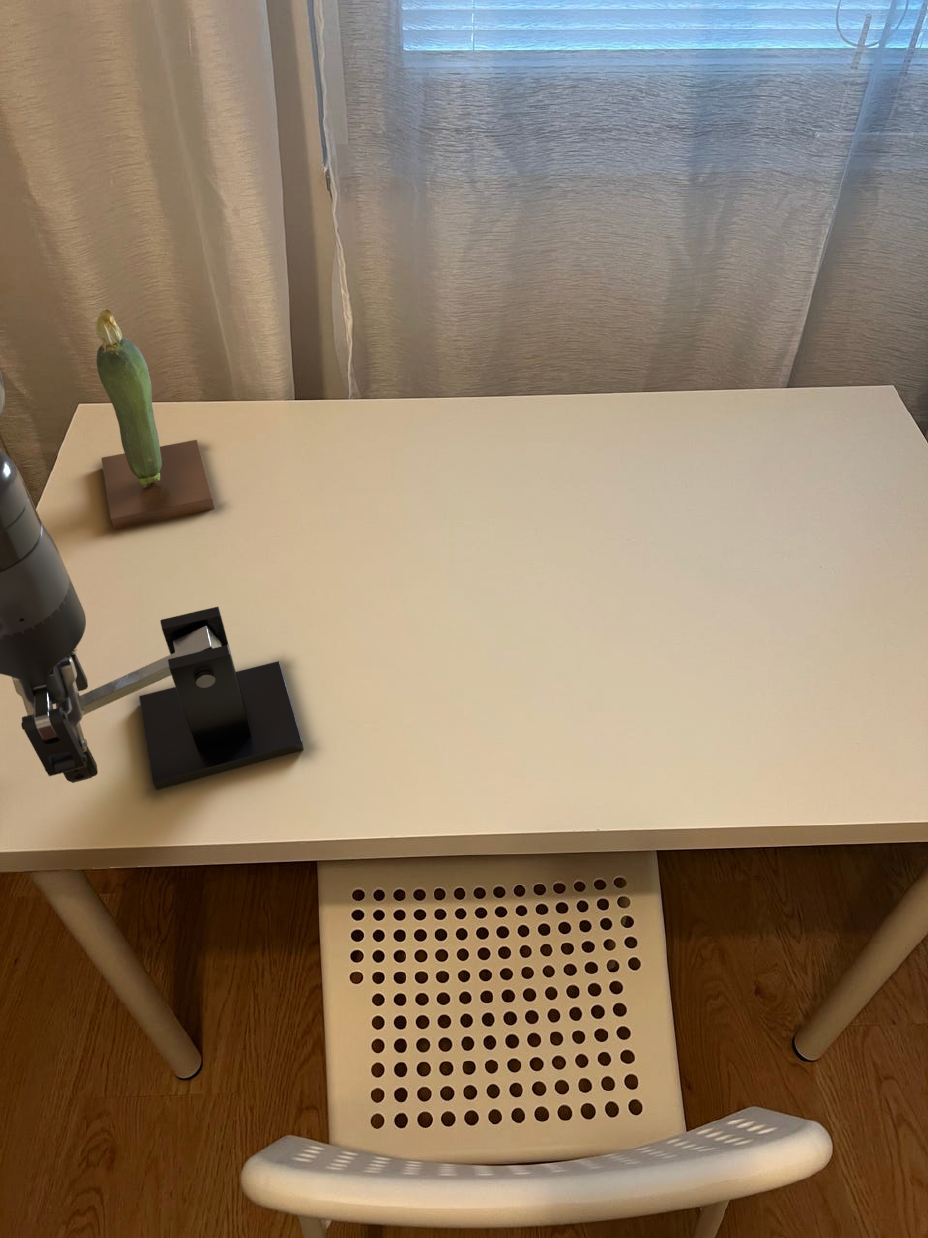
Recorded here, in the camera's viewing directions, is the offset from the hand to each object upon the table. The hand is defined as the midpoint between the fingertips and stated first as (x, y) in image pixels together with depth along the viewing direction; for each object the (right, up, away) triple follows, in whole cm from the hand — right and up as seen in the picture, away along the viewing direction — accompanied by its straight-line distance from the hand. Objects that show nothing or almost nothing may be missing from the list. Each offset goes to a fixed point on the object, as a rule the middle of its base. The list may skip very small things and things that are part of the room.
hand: (79, 730), depth 73 cm
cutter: (+10, 0, +6) cm, 11 cm away
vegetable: (-2, +23, +24) cm, 33 cm away
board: (-2, +22, +25) cm, 34 cm away
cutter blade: (+5, +3, -1) cm, 6 cm away
